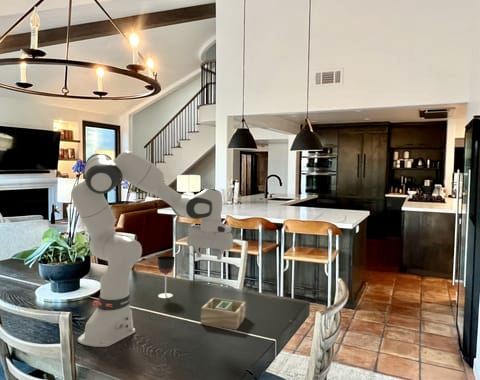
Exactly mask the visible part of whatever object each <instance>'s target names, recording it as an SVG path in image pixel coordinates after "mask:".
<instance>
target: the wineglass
mask: <svg viewBox="0 0 480 380" xmlns="http://www.w3.org/2000/svg"><path fill="white" fill-rule="evenodd" d="M157 267H158V271H159V272H160V273H161V274H164V293H159V294H158V298H161V299H169V298H173V296H174V295H173V294H172V293H168V292H167V278H168V277H167V276H168V274H170V273H172V271H173V270H174V267H175V256H172V255H171V256H170V255H161V256H158V257H157Z"/></svg>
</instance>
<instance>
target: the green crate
mask: <svg viewBox="0 0 480 380" xmlns="http://www.w3.org/2000/svg"><path fill="white" fill-rule="evenodd" d="M232 305H233V302H227V301H221V302H220V303H219V304H218V305H217V306H216V307H215V309H218V310H225V311H232Z"/></svg>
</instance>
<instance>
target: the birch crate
mask: <svg viewBox="0 0 480 380" xmlns="http://www.w3.org/2000/svg"><path fill="white" fill-rule="evenodd" d="M221 301H227V302H233V305H232V311H225V310H218V309H215V307H216V306H217V305H218V304H219V303H220V302H221ZM246 307H247V301H241V300H233V299H226V298H219V297H212V298H210V299H209V300H208V301H207V302H206V303H205V304H204V305H203V306H201V308H200V325H203V324H205V325H204V326H210V325H211V327H217V328H223V327H224V329H231V330H237V329H238V328H239V327H240V325H241V324H242V322H243V321H244V319H246V312H247V310H246V309H247V308H246Z"/></svg>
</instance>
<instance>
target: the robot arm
mask: <svg viewBox="0 0 480 380" xmlns="http://www.w3.org/2000/svg"><path fill="white" fill-rule="evenodd" d="M84 165H85V167H84V172H83V173H84V175H83V176H84V180H83V181H82V182H79V183H78V184H76V185H75V186H74V187H73V188H72V190H71V192H70V195H71V198H72V202H73V205H74V207H75V209H76V211H77V213H78V215H79V217H80V219H81V220H82V221H81V222H82V223H83V224H84V226H85V228H86V230H87V232H88V234H89V237H90V238H89V239H90V240H89V243H88V244H89V245H88V249H89V251H90V253H91V254H92V255H93V256H94V257H96V258H98V259H100V260H103V261H106V262H108V263H107V265H108V266H107V269H106V272H104V273H103V274H102V275H101V277H100V282H99V283H100V285H99V286H100V288H99V289H100V293H99V296H98V297H99V298H98V300H93V301H92V302H93V303H92V306H93V307H96V309H95V310H94V311H93V312H92V313H93V314H91V316H90V318H89V319H88V320H87V322H86V324H85V328H84V332H83V334H81V335H80V336H79V337H78V338H77V342H78V344H79V343H80V344H82V345H84V346H90V347H96V348H97V347H98V348H103V347H104V348H106V347H109V346H111V345H114V344H116V343H117V342H120V341H122V340H123V339H125V338H127V337H129V336H131V335H133V334H134V333H136V328H135V327H134V321H133V312H132V309H131V306H130V304H131V294H130V276H131V272H132V269H133V267H134V265H135V264H136V263H137V262H139V260H140V258H141V257H142V254H143V248H142V244H141V243H140V242H139V241H137V240H136V239H134V238H132V237H130V236H125V235H120V234H118V232H116V229H115V225H116V221H117V219H116V216H115V214H114V212H113V211H112V208H111V206H110V204H109V203H108V201H107V199H106V197H105V194H107V193H109V192H111V191H112V190H113V189H114V188H116V187H117V186H119V185H120V184H121V183H122V182H123V181H125V182H128V183H129V184H130V185H132V186H134V187H136V188H137V189H138V190H139V189H140V190H141V191H143V192H145V193H149V194H151V195H153V196H156V197H157V198H159V199H160V200H162V201H163V202H165V203H166V204H167V205H168V206H169V207H170V208H171V209H172V211H173V213H174V214H175V215H176V216H178V217H180V218H187V219H191V220H198V219H200V225H199V224H197V225H196V224H191V225H190V226H188V228H187V239H186V244H187V246H188V247H194V251H195V253H196V258H201V257H202V252H200V251H199V249H200V248H206V249H213V250H219V253H220V254H217V255H216V260H219V261H220V260H222V256H223V254H224V253H225V251H231V250H232V249H233V248H234V247H233V246H234V236H233V233H231V232H232V226H230V225H228V224H225V223H223V222H222V215H221V214H222V212H223V196H222V195H223V194H222V192H220V190H218V189H214V188H213V189H212V188H204V189H203V190H201V192H198V193H196V194H193V195H189V194H186V193H179V192H178V191H176V190H174V188H172V187H170V186H169V185H167V184H166V183H165V175H164V173H163V171H162V170H161V169H160V168H159V167H158V166H156V165H155V164H154V163H153V162H151V161H150V160H148V159H147V158H145V157H143V156H141V155H139V154H137V153H135V152H133V151H130V150H125V151H123V152H121V153H119V154H118V155H117V157H116V158H114V159H112V157H111V156H110V155H107V154H105V153H102V152H100V153H99V152H98V153H94V154H91V156H89V157H88V159H87V160H86V161H85V164H84Z"/></svg>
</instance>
